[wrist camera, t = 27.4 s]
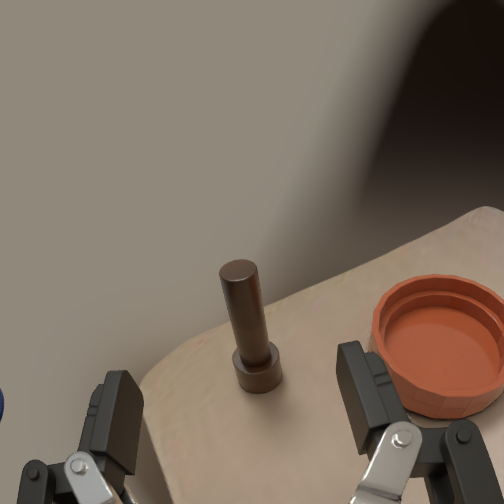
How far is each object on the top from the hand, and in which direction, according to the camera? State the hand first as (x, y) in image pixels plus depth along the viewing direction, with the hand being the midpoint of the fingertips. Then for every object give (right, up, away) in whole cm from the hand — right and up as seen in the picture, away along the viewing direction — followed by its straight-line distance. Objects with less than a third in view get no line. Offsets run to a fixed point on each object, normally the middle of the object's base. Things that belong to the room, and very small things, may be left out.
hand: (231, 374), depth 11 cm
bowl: (+19, -5, +15) cm, 24 cm away
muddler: (+1, -7, +17) cm, 18 cm away
